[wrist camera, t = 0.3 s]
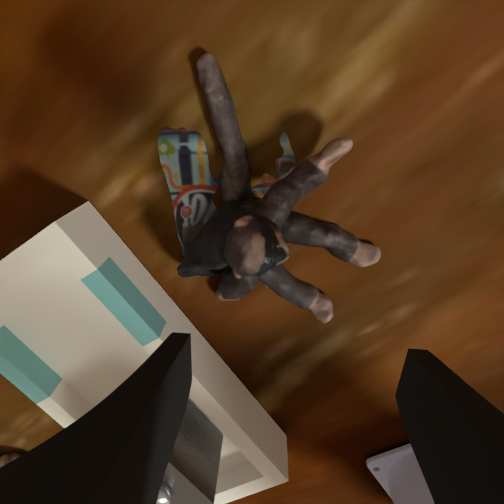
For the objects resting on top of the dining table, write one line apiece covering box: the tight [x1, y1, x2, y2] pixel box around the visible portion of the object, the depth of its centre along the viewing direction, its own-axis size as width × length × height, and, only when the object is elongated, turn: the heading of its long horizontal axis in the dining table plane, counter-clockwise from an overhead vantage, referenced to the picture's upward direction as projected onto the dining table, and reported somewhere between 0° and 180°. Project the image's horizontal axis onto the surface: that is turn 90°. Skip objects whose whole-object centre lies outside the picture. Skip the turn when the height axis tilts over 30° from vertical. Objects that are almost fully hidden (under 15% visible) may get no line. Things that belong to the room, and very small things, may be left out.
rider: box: [156, 398, 223, 504], centre depth 22 cm, size 5×5×5 cm
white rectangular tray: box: [0, 201, 288, 504], centre depth 24 cm, size 22×13×4 cm, turn 33°
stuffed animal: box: [158, 53, 381, 324], centre depth 20 cm, size 12×10×12 cm
